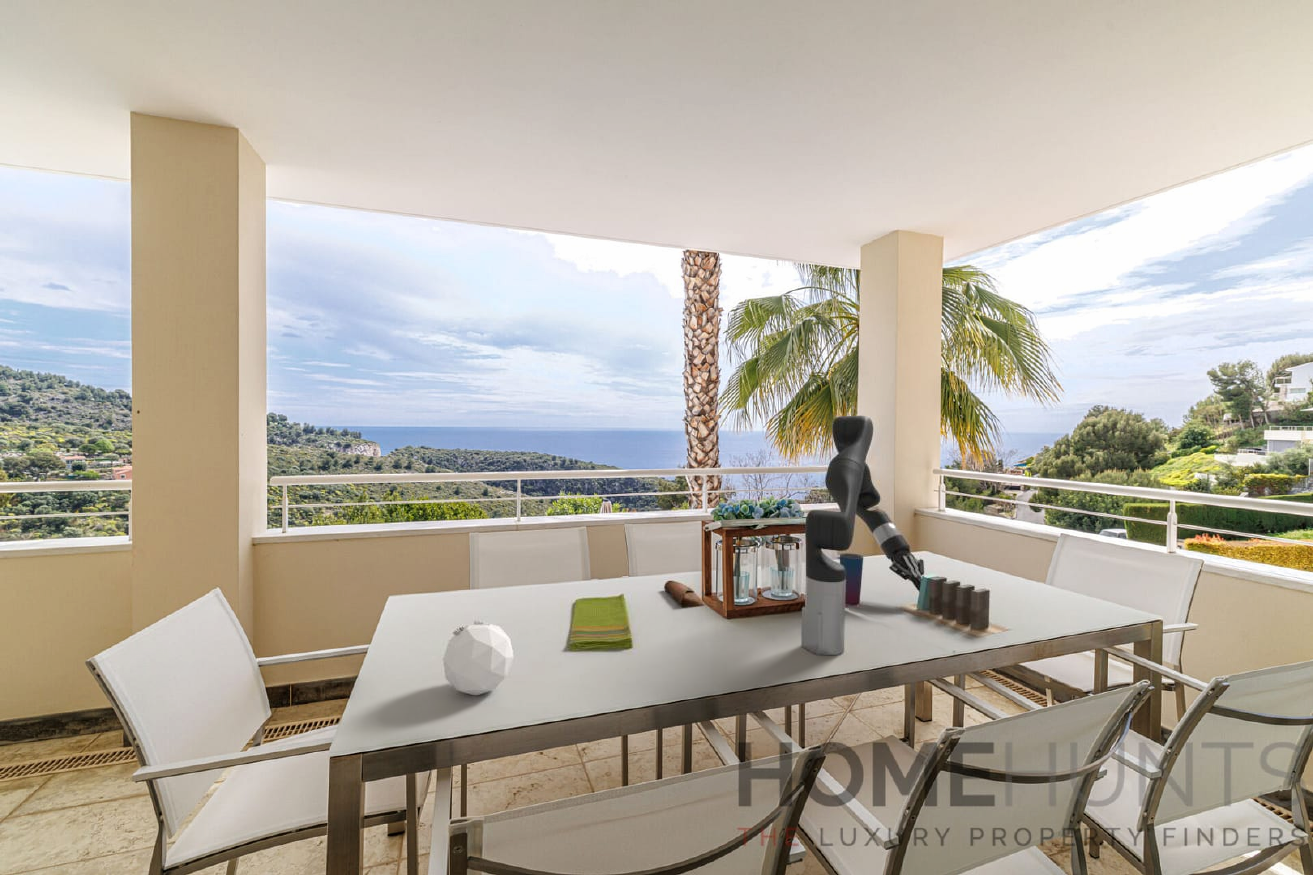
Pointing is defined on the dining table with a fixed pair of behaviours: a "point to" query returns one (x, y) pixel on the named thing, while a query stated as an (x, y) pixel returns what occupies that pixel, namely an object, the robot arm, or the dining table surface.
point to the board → (954, 622)
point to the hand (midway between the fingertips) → (923, 590)
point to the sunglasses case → (683, 594)
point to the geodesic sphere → (478, 658)
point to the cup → (852, 577)
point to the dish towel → (600, 624)
